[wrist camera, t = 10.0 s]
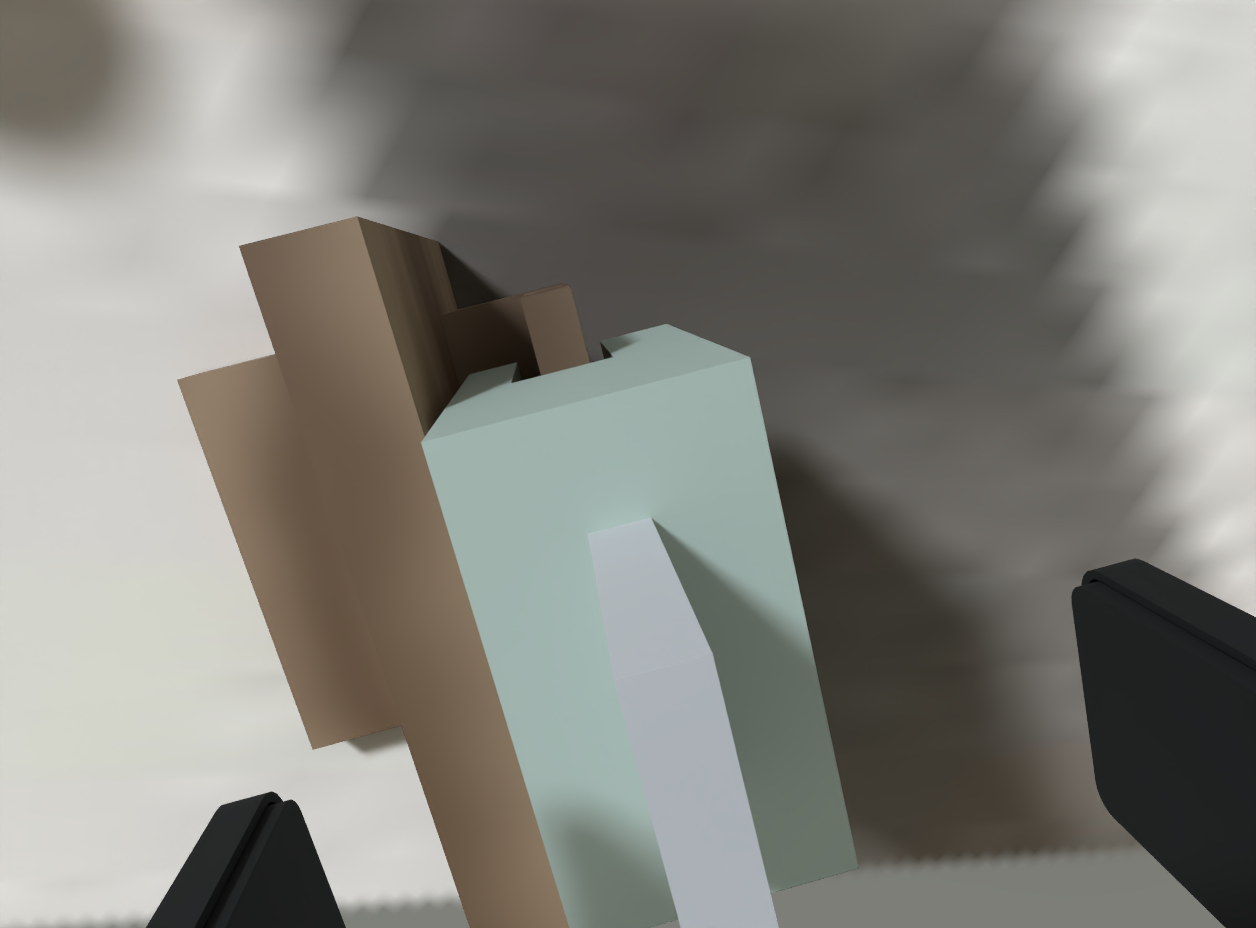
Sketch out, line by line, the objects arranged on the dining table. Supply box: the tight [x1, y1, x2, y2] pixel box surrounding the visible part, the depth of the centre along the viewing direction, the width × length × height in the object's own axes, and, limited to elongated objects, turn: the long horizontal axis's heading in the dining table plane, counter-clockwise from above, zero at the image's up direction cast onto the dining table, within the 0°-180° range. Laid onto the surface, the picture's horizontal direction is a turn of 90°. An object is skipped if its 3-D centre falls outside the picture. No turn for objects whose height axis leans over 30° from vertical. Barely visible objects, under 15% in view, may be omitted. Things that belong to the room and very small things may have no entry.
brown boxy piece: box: [177, 217, 590, 928], centre depth 22 cm, size 11×16×12 cm
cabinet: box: [421, 324, 859, 928], centre depth 16 cm, size 5×9×14 cm, turn 14°
